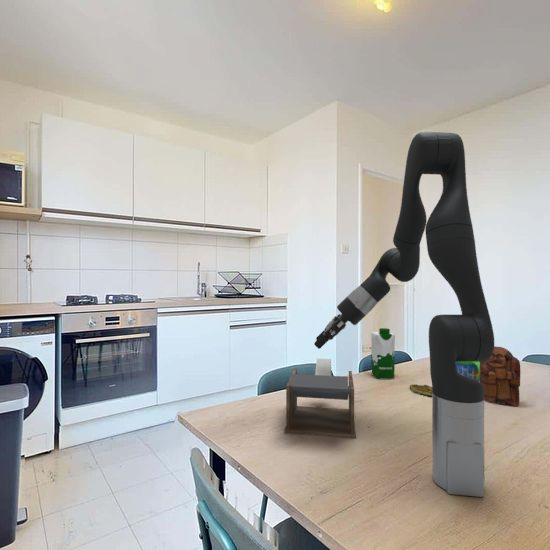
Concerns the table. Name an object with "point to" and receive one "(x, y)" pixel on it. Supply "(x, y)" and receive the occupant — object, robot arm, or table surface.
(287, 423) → the trapdoor stand
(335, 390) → the trapdoor
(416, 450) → the table surface
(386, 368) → the milk carton
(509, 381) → the wooden figurine
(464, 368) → the green blue printed box
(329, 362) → the grey stone pillar
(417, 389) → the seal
